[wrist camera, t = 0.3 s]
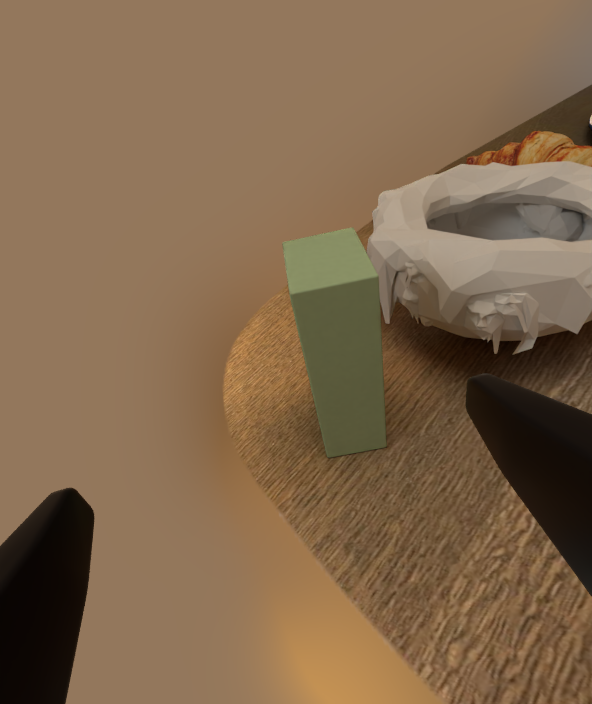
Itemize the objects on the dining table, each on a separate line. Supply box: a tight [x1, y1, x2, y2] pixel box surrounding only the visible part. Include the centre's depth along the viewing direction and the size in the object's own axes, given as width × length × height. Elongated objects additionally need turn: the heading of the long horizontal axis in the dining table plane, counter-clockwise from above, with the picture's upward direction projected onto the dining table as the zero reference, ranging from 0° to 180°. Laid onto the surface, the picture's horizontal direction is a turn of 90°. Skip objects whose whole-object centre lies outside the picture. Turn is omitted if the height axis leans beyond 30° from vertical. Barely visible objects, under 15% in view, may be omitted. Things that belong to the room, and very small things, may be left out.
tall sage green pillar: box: [283, 228, 387, 458], centre depth 23 cm, size 4×6×13 cm
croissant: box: [466, 131, 592, 167], centre depth 47 cm, size 21×10×8 cm, turn 38°
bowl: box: [366, 161, 592, 355], centre depth 30 cm, size 21×20×10 cm
